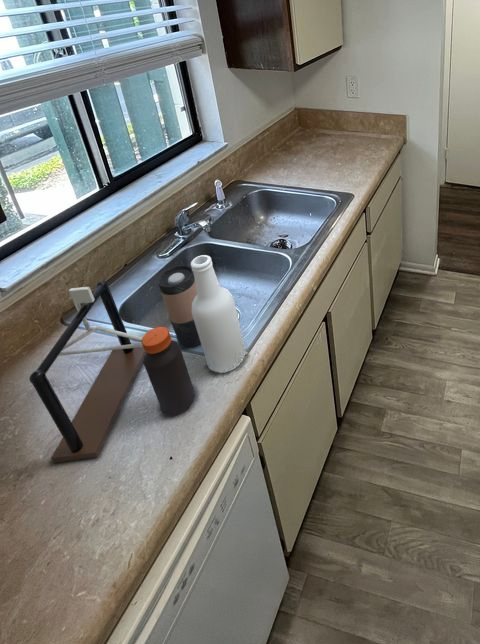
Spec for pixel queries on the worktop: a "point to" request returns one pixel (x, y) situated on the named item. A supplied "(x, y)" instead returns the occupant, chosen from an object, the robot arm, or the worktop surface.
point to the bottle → (167, 371)
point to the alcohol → (216, 319)
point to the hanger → (86, 296)
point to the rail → (104, 395)
